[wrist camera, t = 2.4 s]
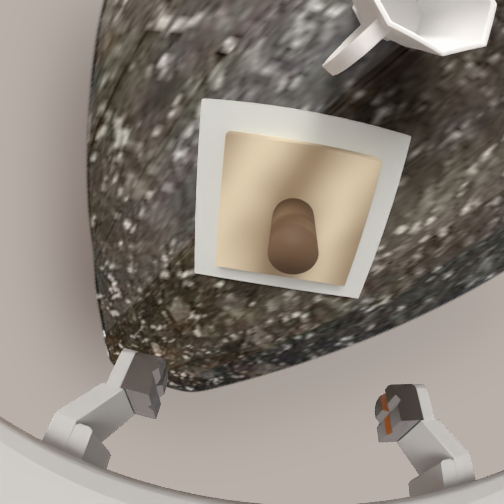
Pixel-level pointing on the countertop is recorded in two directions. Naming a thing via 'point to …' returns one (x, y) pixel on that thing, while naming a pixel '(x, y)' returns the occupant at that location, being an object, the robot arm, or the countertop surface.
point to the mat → (303, 129)
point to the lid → (293, 207)
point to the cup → (415, 27)
